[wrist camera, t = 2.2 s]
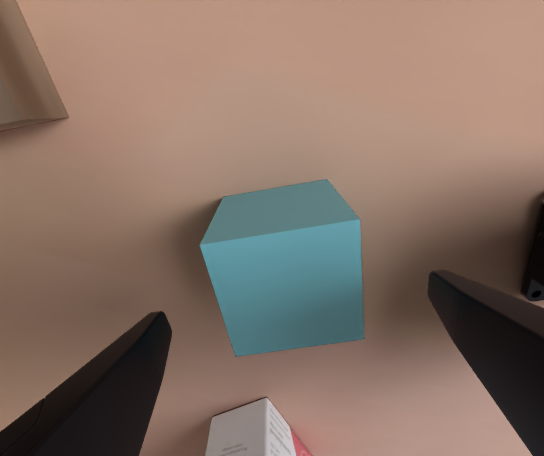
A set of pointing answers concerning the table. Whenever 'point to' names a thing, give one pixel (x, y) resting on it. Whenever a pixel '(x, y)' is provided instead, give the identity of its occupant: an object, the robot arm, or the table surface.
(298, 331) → the teal cube
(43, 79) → the tan flat square block
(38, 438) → the robot arm
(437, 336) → the table surface
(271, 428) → the ink cartridge box
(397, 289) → the table surface
